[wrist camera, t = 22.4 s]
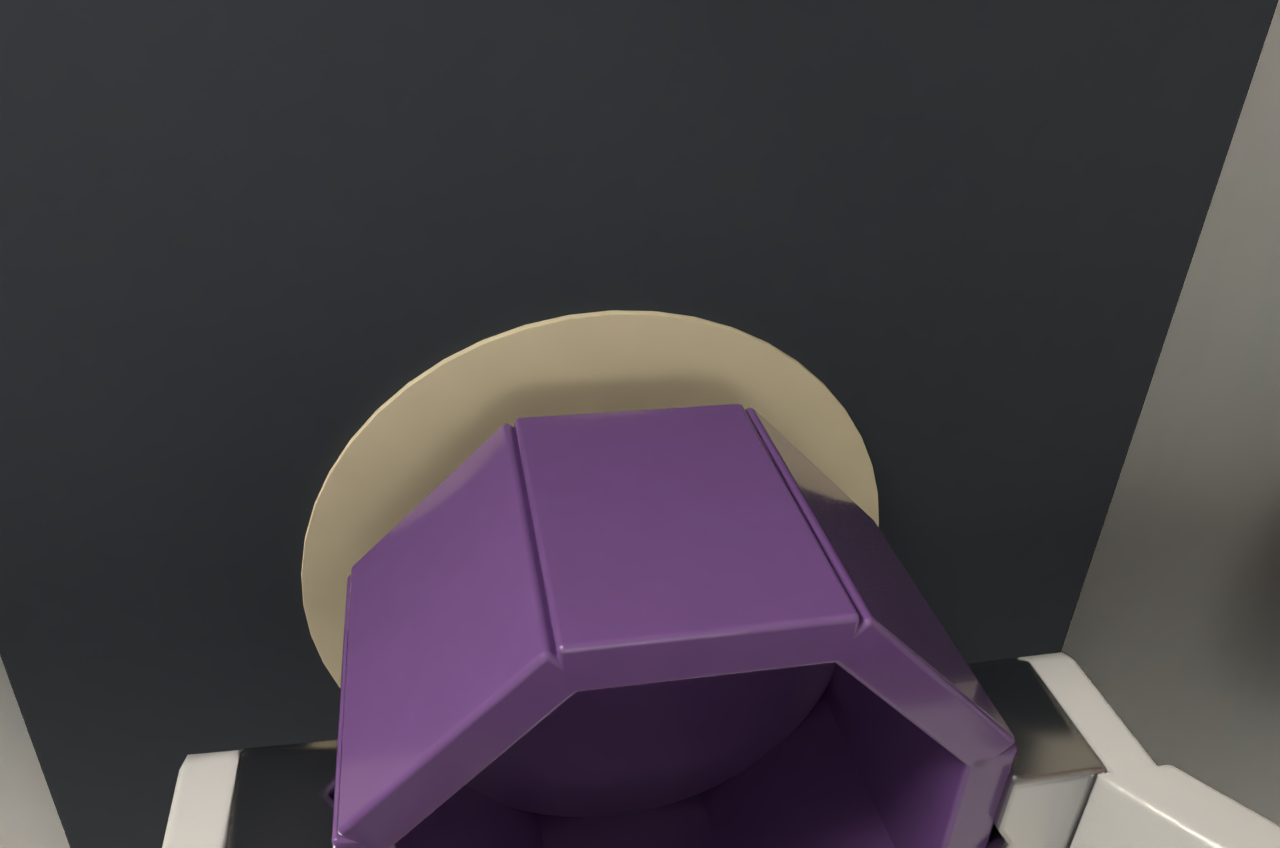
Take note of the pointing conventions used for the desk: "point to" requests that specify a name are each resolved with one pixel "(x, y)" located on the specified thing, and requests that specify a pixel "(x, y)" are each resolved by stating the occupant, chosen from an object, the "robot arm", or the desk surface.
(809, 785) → the dish
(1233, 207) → the desk surface
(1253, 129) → the desk surface
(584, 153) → the mat
